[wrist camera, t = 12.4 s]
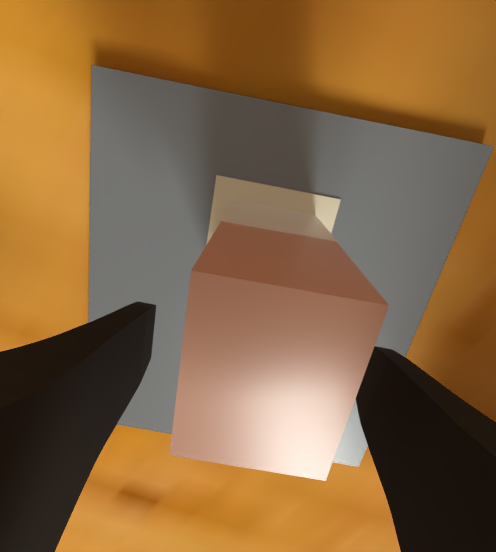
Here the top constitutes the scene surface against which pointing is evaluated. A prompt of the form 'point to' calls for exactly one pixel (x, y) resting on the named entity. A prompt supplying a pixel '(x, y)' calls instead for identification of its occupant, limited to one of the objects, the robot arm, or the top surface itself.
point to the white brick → (276, 220)
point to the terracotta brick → (272, 351)
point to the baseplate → (266, 191)
